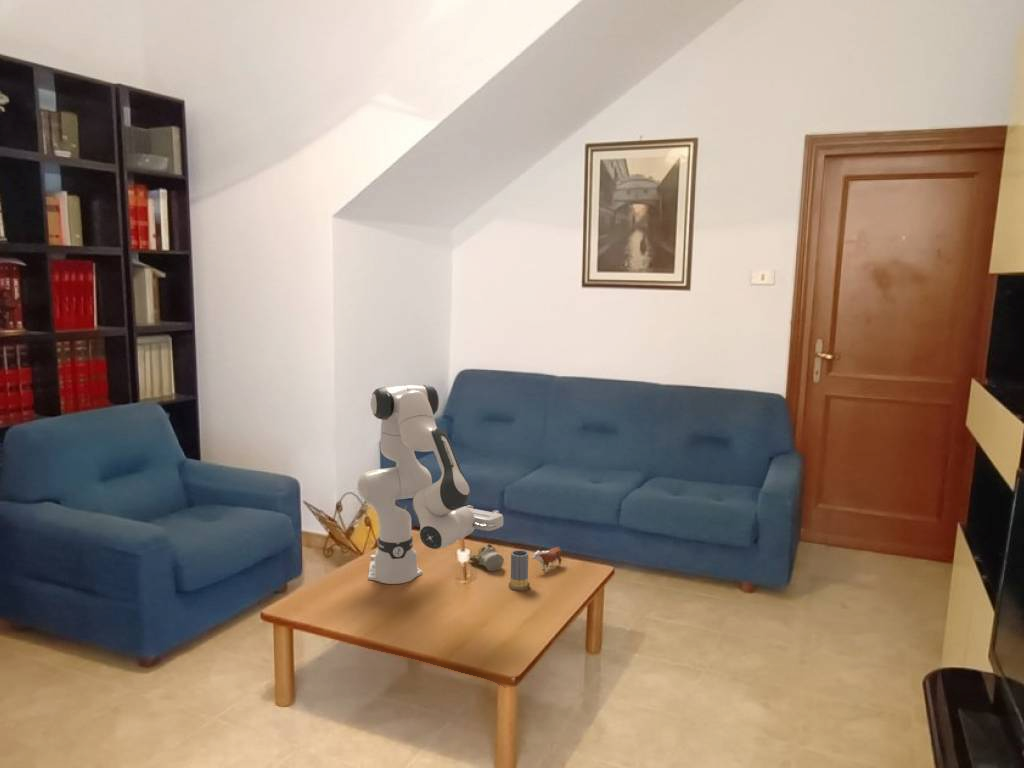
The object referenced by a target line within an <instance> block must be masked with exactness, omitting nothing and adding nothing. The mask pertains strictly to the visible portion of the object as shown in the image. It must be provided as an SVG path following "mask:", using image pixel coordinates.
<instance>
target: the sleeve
mask: <svg viewBox="0 0 1024 768" xmlns="http://www.w3.org/2000/svg"><path fill="white" fill-rule="evenodd" d="M528 579H529V552H528V551H526V550H522V549H516V550H512V551H511V553H510V582H511V585H512V586H513V587H519V588H520V587H525V586H527V585H528V583H529V581H528Z"/></svg>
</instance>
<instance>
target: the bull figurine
mask: <svg viewBox="0 0 1024 768" xmlns="http://www.w3.org/2000/svg"><path fill="white" fill-rule="evenodd" d="M561 557H562V549H561V548H560V546H557V547H554V548H551V549H548V550H542V551H540V550H536V551H535V552H534V555H533V556H532V559H533V560H536V561H539V563H540V564H541V566H542V568H541V571H543V573H544V574H547V573H548V568H549V567H550V568H551V567H553V564H554V563H555V562H556V561H558V566H557V567H558V568H561V565H562V564H561V563H562V558H561Z"/></svg>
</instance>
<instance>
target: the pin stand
mask: <svg viewBox="0 0 1024 768" xmlns="http://www.w3.org/2000/svg"><path fill="white" fill-rule="evenodd" d="M508 588H509V589H510V590H512V591H516V592H524V591H527V590H529V589H530V583H529V582H528V585H527V586H525V587H520V588H519V587H513V586H512V585H511V581H509V582H508Z"/></svg>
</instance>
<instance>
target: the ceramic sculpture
mask: <svg viewBox="0 0 1024 768" xmlns="http://www.w3.org/2000/svg"><path fill="white" fill-rule="evenodd" d="M469 556H470V559H469V560H470V561H471V562H472V563H475V564H480V565H482V566H484V567H485V568H486V569H487V570H488V572H497V571H499V570H501V568H502V567H503V565H504V557H503V555H502V554H501V553H499V552H498V551H497V549H496V548H495V547H494V545H492V544H491V543H490V544H487V545H485V546H482V547H481V548H480V549H479V551H478V553H477V554H474V555H469Z"/></svg>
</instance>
